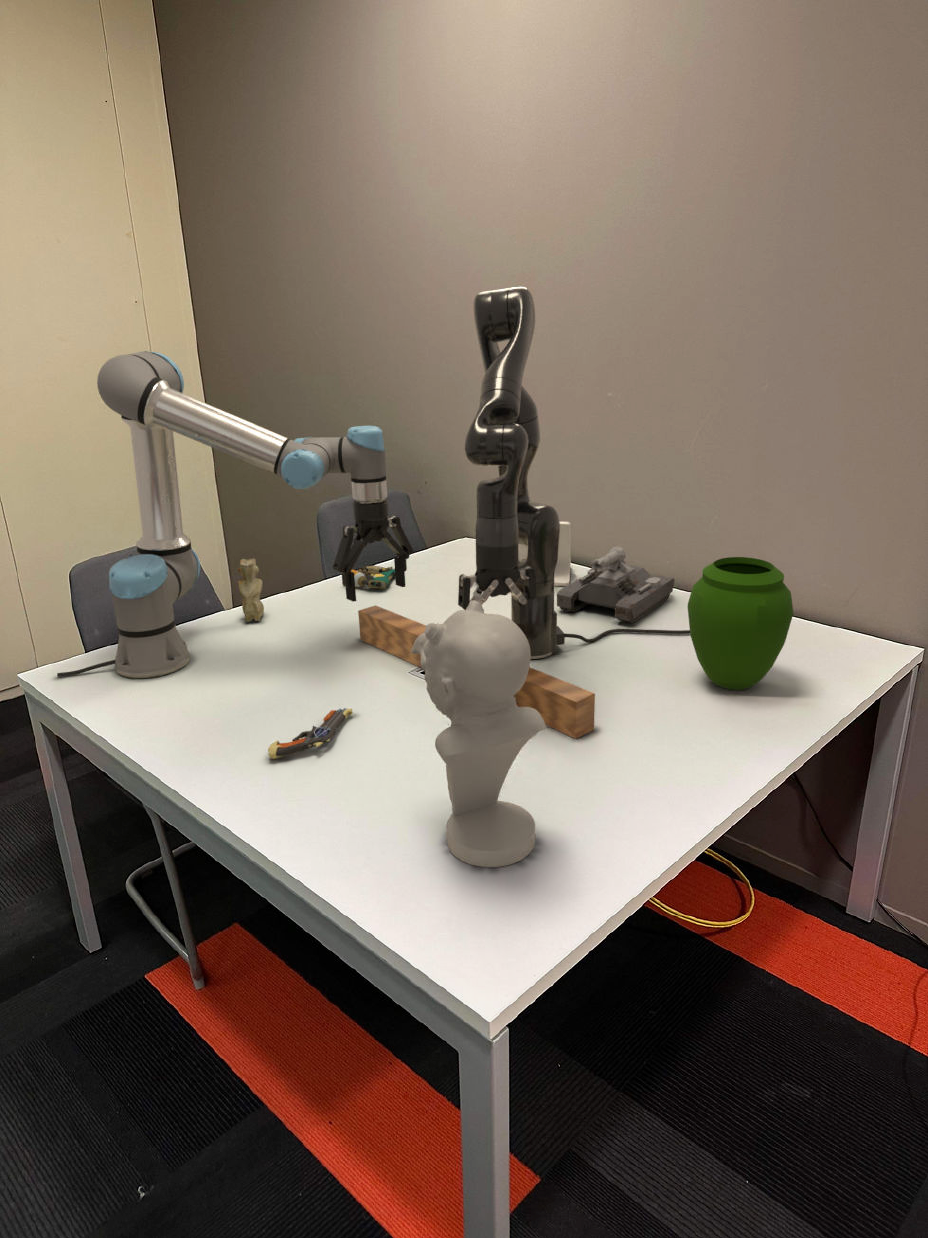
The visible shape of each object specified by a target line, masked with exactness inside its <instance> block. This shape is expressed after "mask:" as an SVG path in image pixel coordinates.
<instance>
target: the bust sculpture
mask: <svg viewBox="0 0 928 1238" xmlns="http://www.w3.org/2000/svg"><path fill="white" fill-rule="evenodd" d="M411 653H412V654H421V667H422V668H421V667H420V668H421V669H422V670H423V672H424V681H425V682H426V690H427V693H428V696H429V698H430V701H431V702H432V704H434V706H435V708H436V710H438V711H439V712H440V713H441V714H442V716H446V717H447V718H448V719H449V720H450V726H448V727H446V728H445V729H443V730H442V731H441V732H440V733H439V734H438V735H436V738H435V741H434V748H435V749H436V752H437V753H438V755H439V757H440V758H441V760H442V761H443V762H444V763H445V771H446V781H447V790H448V796H449V800H450V803H451V810H452V813H451V814H450V815H449V817H448V819H447V822H446V844H447V847H448V849H449V851H450V852H451V854H452V855H453V856H454V857H456V858H457V859H459V860H460V861H462V862H463V863H466V864H469V865H471V866H476V867H483V868H498V867H505V866H509V865H512V864H517V862H520V861H521V860H523V859H525V858H527V856H528V855H530V854H531V852H532V851H533V849H535V848H534V847H535V845H536V822H535V821H536V820H535V819H534V817H533V816H532V814H531V813H530V812H529V811H528V810H526V809H525V808H524V807H522V806H520V805H517V804H515V803H513V802H509V801H504V800H499V796H500V793H501V790H502V788H503V785H504V783H505V780H506V778H507V776H508V773H509V771H510V769H511V768H512V765H513V763H514V761H515V760H516V759H517V756H518V755H519V753H520V752H521V750H522V749H523V748H524V747H525V745H526V744H527V743H528V742H529V741H530V740H531V739H532V738H533V737H535V735H537V734H538V733H539V732H541V731H544V730H545V729H546V728H547V725H545V722H544V720H543V718H542V716H541V715H540V713H539V712H538V711H537V710H536V709H533V708H530V707H518V706H517V705H516V698H515V697H514V695H515V694H516V693H517V692H518V691H519V690H520V689H521V688H522V686H523V685H524V683H525V680H526V678H527V675H528V671H529V667H530V666H531V659H530V656H531V655H530V653H531V652H530V646H529V643H528V640H527V638H526V636H525V634H524V633H523V632H522V630H521V629H520V628H519V627H518V626H517V625H516V624H515V623H514V622H513V621H512V620H511V618H508V617H507V616H504V615H503V614H502V615H501V614H496V613H485V609H484V607H483V604H482V605H481V603H480V602H478V601H474V600H472V601H470V603H469V605H468V607H467V609H466V610H464V609H460V610H457V611H455V612H453V613H451V615H449V616H448V617H447V618H446V619H445V620H444V622H442V624H441V623H435V622H430V623H428V624H427V625H426V628H425V633H423V634H421V635H419V636H418V637H417V639H416V640H415V642H414V645H413V647H412V649H411Z"/></svg>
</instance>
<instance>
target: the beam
mask: <svg viewBox="0 0 928 1238" xmlns="http://www.w3.org/2000/svg"><path fill="white" fill-rule="evenodd" d="M357 613H358V614H357V615H358V624H359V625H358V626H359V638H360V639H359V640H360V641H363V642H364V643H367V644H368V645H371V646H373V647H375V648H377V649H380V650H382V651H384V652H386V653H389V654H390V655H393V656H395V657H397V658H399V659H402V660H403V661H406V662H408V663H410V664H412V665H415V666H417V667H419V668H421V669H422V667H421V654H412V653H411V649H412V647H413V645H414V642H415V640H416V639H417V637H418V636H419V635H421V634H423V633H425V628H426V626H427V625H426V624H423V623H421V622H418V621H416V620H413V619H410V618H409V617H406V616H403V615H401V614H398V613H396V612H393V611H391V610H388V609H386V608H383V607H381V606H378V605H372V606H369V607H366V608H362V609H359V610H357ZM514 697H515V698H516V705H517V706H518V707H530V708H533V709H536V710H537V711H538V712H539V713H540V715H541V716H542V718H543V720H544V722H545V725H546V727H549V728H551V729H553V730H555V731H559V732H560V733H562V734H565V735H566V736H568V737H571V738H573V739H576V740H577V739H578V738H580V737H582V736H585V735H586V734H588V733H591V732H592V731H594V730H595V707H596V693H595V692H593V691H590V690H587V689H585V688H582V687H580V686H579V685H575V684H572V683H570V682H567V681H566V680H563V679H560V678H558V677H555V676H553V675H550V674H547V673H545V672H543V671H540V670H538V669H535V668H533V667H530V666H529V671H528V675H527V678H526V680H525V683H524V685H523V686H522V688H521V689H520V690H519V691H518V692H517V693H516V694H515V695H514Z"/></svg>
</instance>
